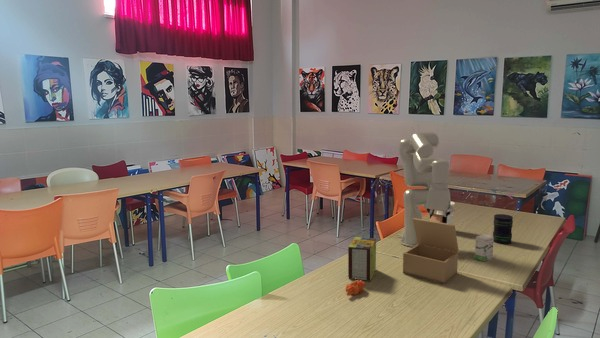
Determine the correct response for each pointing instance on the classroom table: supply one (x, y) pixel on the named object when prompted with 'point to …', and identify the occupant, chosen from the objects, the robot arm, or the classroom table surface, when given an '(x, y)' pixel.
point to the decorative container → (450, 216)
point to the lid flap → (436, 233)
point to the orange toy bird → (355, 287)
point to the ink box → (484, 247)
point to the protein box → (362, 258)
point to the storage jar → (502, 229)
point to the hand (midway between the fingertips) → (438, 223)
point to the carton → (430, 263)
